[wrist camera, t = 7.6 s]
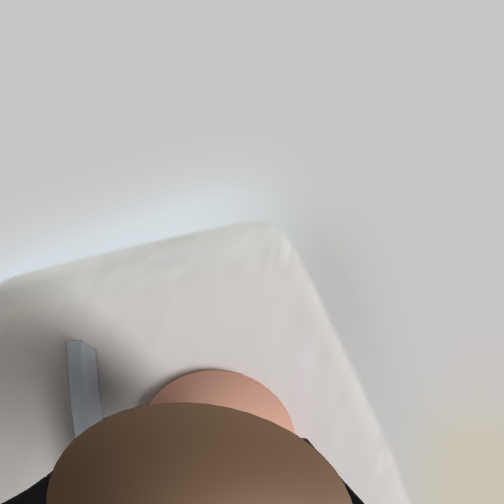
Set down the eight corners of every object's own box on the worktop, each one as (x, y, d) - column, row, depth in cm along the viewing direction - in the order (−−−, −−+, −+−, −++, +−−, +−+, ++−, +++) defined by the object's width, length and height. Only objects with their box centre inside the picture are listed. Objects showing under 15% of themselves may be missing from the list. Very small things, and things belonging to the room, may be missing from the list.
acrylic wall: (125, 521, 15) (113, 532, 13) (110, 520, 15) (97, 531, 13) (95, 349, 22) (81, 340, 19) (82, 350, 22) (66, 341, 19)
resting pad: (288, 512, 17) (290, 514, 17) (136, 498, 17) (134, 500, 16) (296, 376, 22) (298, 375, 22) (148, 362, 22) (147, 360, 21)
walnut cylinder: (270, 490, 13) (369, 605, 2) (173, 503, 12) (96, 632, 1) (251, 403, 15) (325, 375, 5) (155, 415, 14) (24, 404, 4)
